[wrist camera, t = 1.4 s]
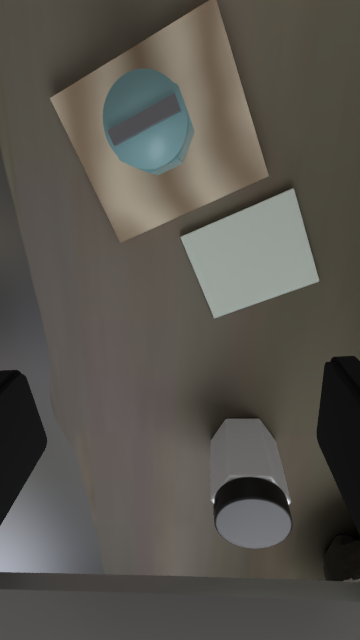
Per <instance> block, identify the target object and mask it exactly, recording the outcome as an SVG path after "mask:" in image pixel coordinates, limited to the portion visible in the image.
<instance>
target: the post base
mask: <svg viewBox="0 0 360 640" xmlns="http://www.w3.org/2000/svg"><path fill="white" fill-rule="evenodd" d="M135 69H152V70H155V71H158V72H160V73H162V74H164V75H165V76H167V77H168V78H169V79H170V80H171V81H172V82H174V83H176V84H178V86H179V89H180V91H181V94H182V97H183V100H184V102H185V105H186V108H187V111H188V114H189V116H190V119H191V122H192V125H193V128H194V135H193V138H192V141H191V144H190V146H189V149H188V152H187V155H186V158H185V160H184V162H183V164H180V165H178V166H176V167H174V168H172V169H170V170H168V171H166V172H164V173H162V174H160V175H154V174H150V173H147V172H145V171H143V170H140V169H138V168H135V167H132V166H130V165H128V164H126V163H124V162H122V161H120V160H119V158H118V156H117V155H116V154H115V153H114V151H113V150H112V148H111V147H110V145H109V143H108V141H107V138H106V136H105V132H104V127H103V108H104V103H105V99H106V97H107V94H108V92H109V90H110V89H111V87H112V85H113V84H114V83H115V82H116V81H117V80H118V79H119V78H120V77H121V76H123V75H124V74H125V73H127V72H129V71H132V70H135ZM50 99H51V101H52V103H53V106H54V108H55V110H56V112H57V114H58V116H59V118H60V120H61V122H62V124H63V126H64V128H65V130H66V132H67V134H68V136H69V138H70V140H71V142H72V145H73V147H74V149H75V151H76V153H77V155H78V157H79V159H80V161H81V163H82V165H83V167H84V169H85V171H86V173H87V175H88V177H89V179H90V181H91V184H92V186H93V188H94V190H95V192H96V194H97V196H98V198H99V200H100V202H101V204H102V206H103V208H104V210H105V212H106V214H107V216H108V218H109V220H110V223H111V225H112V227H113V229H114V231H115V233H116V235H117V237H118V239H119V241H120V243H121V242H123V241H126V240H128V239H130V238H132V237H135V236H137V235H139V234H141V233H143V232H146V231H148V230H150V229H152V228H155V227H157V226H159V225H161V224H164V223H166V222H168V221H170V220H172V219H175V218H177V217H179V216H181V215H184V214H186V213H188V212H190V211H192V210H195V209H197V208H199V207H201V206H204V205H206V204H208V203H210V202H213V201H215V200H217V199H219V198H221V197H224V196H226V195H228V194H230V193H233V192H235V191H237V190H239V189H241V188H244V187H246V186H248V185H250V184H253V183H255V182H257V181H259V180H261V179H264V178H266V177H268V176H269V175H268V172H267V168H266V165H265V162H264V158H263V155H262V152H261V148H260V145H259V142H258V138H257V135H256V131H255V128H254V125H253V121H252V118H251V115H250V111H249V108H248V105H247V101H246V98H245V95H244V91H243V88H242V84H241V81H240V78H239V74H238V71H237V68H236V64H235V61H234V58H233V54H232V51H231V48H230V44H229V41H228V37H227V34H226V31H225V27H224V24H223V21H222V17H221V14H220V11H219V7H218V4H217V1H216V0H209V1H207V2H205V3H204V4H202V5H201V6H199V7H197V8H196V9H194V10H192V11H191V12H189V13H188V14H186V15H184V16H183V17H181V18H179V19H178V20H176V21H175V22H173V23H171V24H170V25H168V26H166V27H165V28H163V29H162V30H160V31H158V32H157V33H155V34H153V35H152V36H150V37H149V38H147V39H145V40H144V41H142V42H140V43H139V44H137V45H136V46H134V47H132V48H131V49H129V50H127V51H126V52H124V53H123V54H121V55H119V56H118V57H116V58H114V59H113V60H111V61H110V62H108V63H106V64H105V65H103V66H101V67H100V68H98V69H97V70H95V71H93V72H92V73H90V74H89V75H87V76H85V77H84V78H82V79H80V80H79V81H77V82H76V83H74V84H72V85H71V86H69V87H67V88H66V89H64V90H63V91H61V92H59V93H58V94H56V95H54V96H53V97H51V98H50Z"/></svg>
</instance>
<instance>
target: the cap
mask: <svg viewBox="0 0 360 640" xmlns="http://www.w3.org/2000/svg"><path fill="white" fill-rule="evenodd" d="M103 127H104V132H105V136H106V138H107V141H108V143H109V145H110V147H111V148H112V150H113V151H114V153H115V154H116V155H117V156H118V158H119V160H120V161H122V162H124V163H126V164H128V165H130V166H132V167H135V168H138V169H140V170H143V171H145V172H147V173H150V174H154V175H160V174H162V173H164V172H166V171H168V170H170V169H172V168H174V167H176V166H178V165H180V164H183V162H184V160H185V158H186V155H187V152H188V149H189V146H190V144H191V141H192V138H193V135H194V128H193V125H192V122H191V119H190V116H189V114H188V111H187V108H186V105H185V102H184V100H183V97H182V94H181V91H180V89H179V86H178V84H176V83H174V82H172V81H171V80H170V79H169V78H168V77H167V76H165V75H164V74H162V73H160V72H158V71H155V70H152V69H135V70H132V71H129V72H127V73H125V74H124V75H123V76H121V77H120V78H119V79H118V80H117V81H116V82H115V83H114V84H113V85H112V87H111V89H110V90H109V92H108V94H107V97H106V99H105V103H104V108H103Z"/></svg>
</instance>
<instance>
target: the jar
mask: <svg viewBox="0 0 360 640" xmlns="http://www.w3.org/2000/svg"><path fill="white" fill-rule="evenodd" d="M210 500H211V501H212V502H213V504H214V522H215V527H216V529H217V531H218V532H219V534H220V535H221V536H222V537H223V538H224V539H226V540H227V541H229V542H231V543H233V544H235V545H238V546H241V547H246V548H265V547H270V546H273V545H275V544H278V543H280V542H281V541H283V540H284V539H285V538H286V537H287V536H288V535H289V533H290V531H291V529H292V518H291V514H290V509H289V504H290V503H291V500H290V496H289V492H288V488H287V484H286V480H285V476H284V472H283V468H282V464H281V460H280V456H279V452H278V448H277V444H276V441H275V439H274V438H273V436H272V435H271V434H270V432H269V431H268V430H267V428H266V427H265V425H264V424H263V423H262V421H261V420H260V419H225V421H224V422H223V423H222V425H221V426H220V428H219V429H218V431H217V432H216V434H215V435H214V436H213V438H212V439H211V479H210Z"/></svg>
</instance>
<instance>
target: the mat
mask: <svg viewBox="0 0 360 640" xmlns="http://www.w3.org/2000/svg"><path fill="white" fill-rule="evenodd" d="M181 240H182V242H183V244H184V247H185V249H186V252H187V254H188V256H189V259H190V261H191V264H192V266H193V268H194V271H195V273H196V276H197V278H198V280H199V283H200V285H201V288H202V290H203V292H204V295H205V297H206V300H207V302H208V304H209V307H210V309H211V312H212V314H213V316H214V318H217V317H220V316H222V315H225V314H228V313H231V312H234V311H237V310H239V309H242V308H245V307H248V306H251V305H254V304H256V303H259V302H262V301H265V300H268V299H271V298H273V297H276V296H279V295H282V294H285V293H288V292H290V291H293V290H296V289H299V288H302V287H305V286H307V285H310V284H313V283H316V282H319V278H318V275H317V271H316V267H315V264H314V260H313V256H312V253H311V249H310V246H309V242H308V238H307V235H306V231H305V227H304V224H303V220H302V216H301V213H300V209H299V206H298V202H297V198H296V195H295V191H294V188H292V189H290V190H287V191H285V192H283V193H280V194H278V195H276V196H273V197H271V198H269V199H266V200H264V201H262V202H259V203H257V204H255V205H252V206H250V207H248V208H246V209H243V210H241V211H239V212H236V213H234V214H232V215H229V216H227V217H225V218H222V219H220V220H218V221H215V222H213V223H211V224H208V225H206V226H204V227H202V228H199V229H197V230H195V231H192V232H190V233H188V234H185V235H183V236H181Z"/></svg>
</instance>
